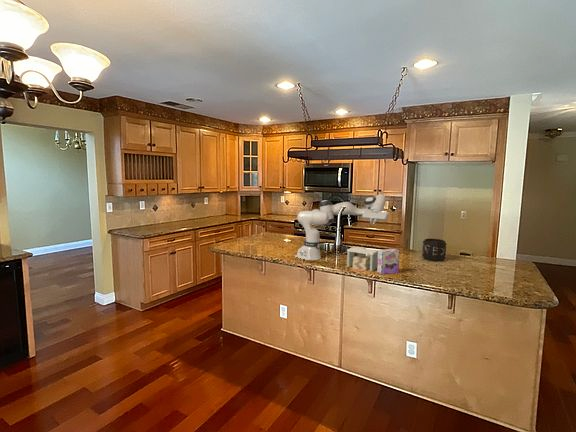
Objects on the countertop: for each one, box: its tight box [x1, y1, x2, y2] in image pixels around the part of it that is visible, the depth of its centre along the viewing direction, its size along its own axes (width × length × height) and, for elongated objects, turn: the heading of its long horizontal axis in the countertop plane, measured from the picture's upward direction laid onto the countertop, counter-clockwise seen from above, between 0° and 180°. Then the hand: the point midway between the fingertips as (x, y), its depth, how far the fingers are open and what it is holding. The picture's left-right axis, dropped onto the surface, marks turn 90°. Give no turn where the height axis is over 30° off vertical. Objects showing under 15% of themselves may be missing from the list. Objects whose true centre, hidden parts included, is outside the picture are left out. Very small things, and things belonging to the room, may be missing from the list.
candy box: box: [376, 248, 400, 275], centre depth 239 cm, size 14×6×16 cm, turn 105°
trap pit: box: [350, 267, 366, 272], centre depth 246 cm, size 10×2×1 cm, turn 54°
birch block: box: [352, 254, 370, 271], centre depth 252 cm, size 10×10×8 cm
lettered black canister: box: [421, 238, 447, 263], centre depth 276 cm, size 18×18×16 cm
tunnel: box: [346, 246, 378, 272], centre depth 251 cm, size 20×10×13 cm, turn 54°
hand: (372, 223), depth 272 cm, fingers closed
